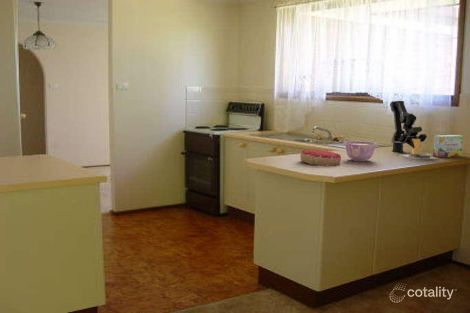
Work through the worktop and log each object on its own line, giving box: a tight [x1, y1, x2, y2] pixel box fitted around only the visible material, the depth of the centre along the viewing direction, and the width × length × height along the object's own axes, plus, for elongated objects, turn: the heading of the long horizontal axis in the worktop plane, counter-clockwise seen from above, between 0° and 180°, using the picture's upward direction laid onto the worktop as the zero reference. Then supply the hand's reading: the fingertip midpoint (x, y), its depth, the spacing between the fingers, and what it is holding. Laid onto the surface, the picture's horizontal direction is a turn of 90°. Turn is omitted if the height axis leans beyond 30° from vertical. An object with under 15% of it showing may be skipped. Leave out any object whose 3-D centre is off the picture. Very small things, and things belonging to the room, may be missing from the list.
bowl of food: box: [344, 140, 377, 162], centre depth 338 cm, size 20×20×12 cm
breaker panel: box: [400, 150, 439, 161], centre depth 357 cm, size 18×17×4 cm
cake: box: [300, 148, 342, 166], centre depth 326 cm, size 25×25×8 cm
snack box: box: [432, 134, 464, 158], centre depth 364 cm, size 21×6×15 cm, turn 112°
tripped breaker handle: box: [411, 139, 421, 154], centre depth 354 cm, size 3×4×10 cm
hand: (416, 147), depth 353 cm, fingers closed on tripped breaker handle, 4 cm apart
